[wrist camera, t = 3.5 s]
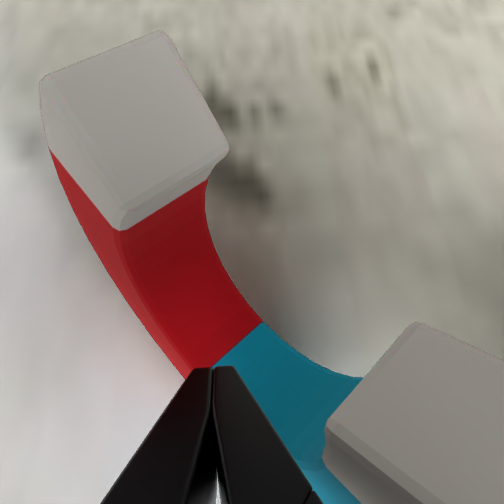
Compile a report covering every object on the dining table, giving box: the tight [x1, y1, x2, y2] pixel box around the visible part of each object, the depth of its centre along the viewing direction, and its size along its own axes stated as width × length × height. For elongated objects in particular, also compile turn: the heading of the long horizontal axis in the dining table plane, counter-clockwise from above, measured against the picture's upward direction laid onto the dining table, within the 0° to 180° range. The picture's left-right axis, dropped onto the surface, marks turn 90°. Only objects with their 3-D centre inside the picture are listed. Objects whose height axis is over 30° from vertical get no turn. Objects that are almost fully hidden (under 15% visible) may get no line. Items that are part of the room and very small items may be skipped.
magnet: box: [39, 31, 504, 504], centre depth 11 cm, size 12×3×10 cm, turn 43°
